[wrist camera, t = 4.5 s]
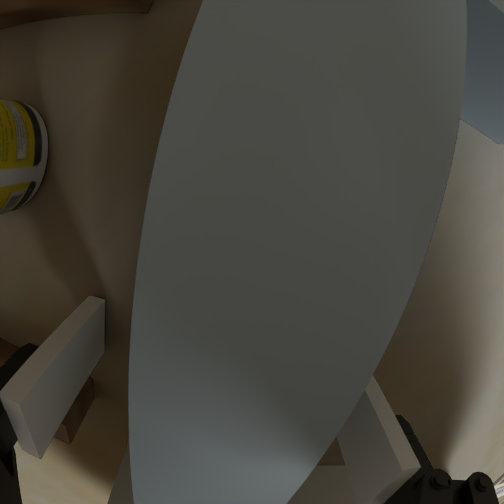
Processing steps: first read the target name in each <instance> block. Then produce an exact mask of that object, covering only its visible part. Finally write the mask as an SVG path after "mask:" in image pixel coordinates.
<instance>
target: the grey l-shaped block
mask: <svg viewBox="0 0 504 504" xmlns="http://www.w3.org/2000/svg"><path fill="white" fill-rule="evenodd" d="M460 119H461V120H463V121H465V122H466V123H468V124H469V125H471V126H472V127H474V128H476V129H477V130H479V131H480V132H482V133H483V134H485V135H486V136H487V137H489V138H490V139H492V140H493V141H495V142H496V143H497V144H504V0H203V2H202V5H201V7H200V10H199V12H198V15H197V18H196V20H195V23H194V26H193V29H192V31H191V34H190V37H189V40H188V43H187V46H186V49H185V52H184V55H183V58H182V61H181V64H180V67H179V70H178V74H177V77H176V80H175V84H174V87H173V91H172V94H171V98H170V101H169V105H168V109H167V112H166V116H165V120H164V124H163V128H162V132H161V136H160V140H159V144H158V149H157V153H156V158H155V162H154V167H153V172H152V177H151V182H150V187H149V192H148V197H147V203H146V209H145V214H144V220H143V227H142V233H141V240H140V247H139V254H138V262H137V270H136V279H135V288H134V298H133V309H132V321H131V336H130V354H129V387H128V417H129V449H130V466H131V479H132V490H133V500H134V504H286V503H287V502H288V501H289V500H290V499H291V497H292V496H293V495H294V494H295V492H296V491H297V490H298V489H299V487H300V486H301V485H302V484H303V482H304V481H305V480H306V478H307V477H308V476H309V474H310V473H311V472H312V470H313V469H314V468H315V466H316V465H317V464H318V462H319V461H320V459H321V458H322V457H323V455H324V454H325V452H326V451H327V450H328V448H329V447H330V445H331V444H332V442H333V441H334V439H335V438H336V436H337V435H338V433H339V432H340V430H341V428H342V427H343V425H344V424H345V422H346V421H347V419H348V417H349V416H350V414H351V412H352V411H353V409H354V407H355V406H356V404H357V402H358V401H359V399H360V397H361V396H362V394H363V392H364V390H365V389H366V387H367V385H368V383H369V381H370V380H371V378H372V376H373V374H374V372H375V370H376V368H377V366H378V364H379V363H380V361H381V359H382V357H383V355H384V353H385V351H386V349H387V347H388V345H389V342H390V340H391V338H392V336H393V334H394V332H395V330H396V328H397V325H398V323H399V321H400V319H401V316H402V314H403V312H404V310H405V307H406V305H407V302H408V300H409V298H410V295H411V293H412V290H413V288H414V285H415V283H416V280H417V277H418V275H419V272H420V269H421V267H422V264H423V261H424V258H425V256H426V253H427V250H428V247H429V244H430V241H431V238H432V235H433V231H434V228H435V225H436V222H437V218H438V215H439V211H440V208H441V204H442V201H443V197H444V193H445V189H446V185H447V181H448V177H449V173H450V168H451V164H452V159H453V154H454V149H455V144H456V139H457V133H458V127H459V121H460Z"/></svg>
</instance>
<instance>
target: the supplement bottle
mask: <svg viewBox="0 0 504 504" xmlns="http://www.w3.org/2000/svg"><path fill="white" fill-rule="evenodd" d="M47 156H48V136H47V131H46V127H45V124H44V122H43V119H42V118H41V116H40V114H39V113H38V112H37V111H36V110H35V109H34V108H33V107H32V106H30V105H28V104H26V103H22V102H18V101H12V100H5V99H0V214H2V213H5V212H8V211H11V210H15V209H17V208H19V207H21V206H23V205H24V204H26V203H27V202H28V201H29V200H30V199H31V198H32V197H33V196H34V194H35V193H36V191H37V190H38V188H39V186H40V184H41V181H42V179H43V176H44V172H45V168H46V163H47Z"/></svg>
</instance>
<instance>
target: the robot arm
mask: <svg viewBox="0 0 504 504" xmlns="http://www.w3.org/2000/svg"><path fill="white" fill-rule="evenodd" d="M104 332H105V300H104V299H101V298H97V297H94V296H91V295H89V296H88V297H87V298H86V299H85V300H84V301H83V302H82V303H81V304H80V305H79V306H78V307H77V308H76V309H75V310H74V311H73V312H72V313H71V314H70V315H69V316H68V317H67V318H66V319H65V320H64V321H63V322H62V323H61V324H60V325H59V326H58V327H57V329H56V330H55V331H54V332H53V333H52V334H51V335H50V336H49V337H48V338H47V339H46V340H45V341H44V342H43V343H42V344H41V345H40V347H38V346H36V345H34V344H31V343H29V344H27V345H25V346H22V347H20V348H18V350H17V351H16V352H15V353H14V354H13V355H12V356H11V358H9V359H8V360H7V361H6V362H5V364H4V365H2V366H1V367H0V504H22V500H21V494H20V487H19V480H18V472H17V463H16V454H15V450H14V447H13V446H14V445H15V443H16V442H17V440H18V442H19V444H20V446H21V448H22V450H24V451H26V452H28V453H29V454H31V455H33V456H35V457H37V458H39V459H41V458H42V457H43V455H44V453H45V451H46V449H47V447H48V446H49V444H50V442H51V440H52V438H53V436H54V435H55V433H56V431H57V429H58V428H59V426H60V424H61V422H62V421H63V419H64V417H65V415H66V414H67V412H68V410H69V409H70V407H71V405H72V404H73V402H74V400H75V398H76V397H77V395H78V394H79V392H80V390H81V389H82V387H83V385H84V384H85V382H86V380H87V379H88V377H89V376H90V374H91V372H92V371H93V369H94V368H95V366H96V364H97V363H98V361H99V360H100V358H101V357H102V355H103V354H104V352H105V350H104ZM336 437H337V440H338V443H339V446H340V450H341V453H342V456H343V460H344V463H345V466H346V470H347V473H348V476H349V480H350V483H351V487H352V490H353V493H354V497H355V500H356V504H499V502H498V498H497V495H496V491H495V488H494V485H493V482H492V480H491V479H490V477H489V476H488V475H486V474H484V473H482V472H475V473H473V474H472V475H471V476H470V477H469V478H468V479H467V480H452V479H451V477H450V475H448V474H447V473H446V472H445V471H443V470H440V469H433V467H432V465H431V463H430V461H429V460H428V458H427V456H426V454H425V452H424V450H423V448H422V446H421V444H420V443H419V442H418V439H417V437H416V435H414V432H413V430H412V428H411V426H410V424H409V423H408V422H407V421H406V420H405V419H404V418H403V417H402V416H401V415H394V413H393V411H392V409H391V407H390V405H389V403H388V402H387V400H386V398H385V396H384V394H383V392H382V390H381V389H380V387H379V385H378V383H377V381H376V379H375V378H374V376H372V378H371V380H370V381H369V383H368V385H367V387H366V389H365V390H364V392H363V394H362V396H361V397H360V399H359V401H358V402H357V404H356V406H355V407H354V409H353V411H352V412H351V414H350V416H349V417H348V419H347V421H346V422H345V424H344V425H343V427H342V428H341V430H340V432H339V433H338V435H337V436H336Z"/></svg>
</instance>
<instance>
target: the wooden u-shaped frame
mask: <svg viewBox="0 0 504 504" xmlns="http://www.w3.org/2000/svg"><path fill="white" fill-rule="evenodd" d="M152 2H153V0H0V29H2V28H6V27H10V26H14V25H19V24H24V23H28V22H34V21H39V20H45V19H52V18H59V17H67V16H76V15H87V14H101V13H148V12H149V9H150V7H151V4H152ZM17 350H18V347H16V346H14V345H12V344H10V343H8V342H6V341H4V340H2V339H0V367H1V366H2V365H4V364H5V362H6V361H7V360H8V359H9V358H11V356H12V355H13V354H14V353H15V352H16V351H17ZM93 400H94V391H93V379H92V378H89V377H88V379H87V380H86V382H85V384H84V385H83V387H82V389H81V390H80V392H79V394H78V395H77V397H76V398H75V400H74V402H73V404H72V405H71V407H70V409H69V410H68V412H67V414H66V415H65V417H64V419H63V421H62V422H61V424H60V426H59V428H58V429H57V431H56V433H55V435H54V436H53V437H54V438H57V439H59V440H61V441H63V442H66V443H68V444H71V442H72V440H73V438H74V436H75V434H76V432H77V430H78V428H79V426H80V424H81V422H82V421H83V419H84V417H85V415H86V413H87V411H88V409H89V407H90V405H91V404H92V402H93Z"/></svg>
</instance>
